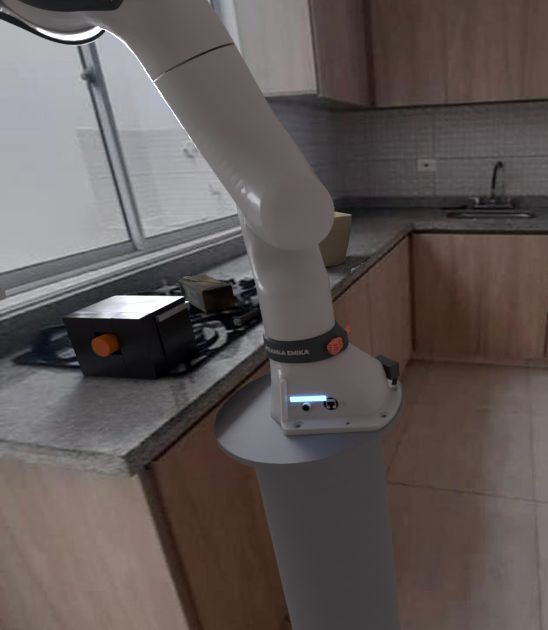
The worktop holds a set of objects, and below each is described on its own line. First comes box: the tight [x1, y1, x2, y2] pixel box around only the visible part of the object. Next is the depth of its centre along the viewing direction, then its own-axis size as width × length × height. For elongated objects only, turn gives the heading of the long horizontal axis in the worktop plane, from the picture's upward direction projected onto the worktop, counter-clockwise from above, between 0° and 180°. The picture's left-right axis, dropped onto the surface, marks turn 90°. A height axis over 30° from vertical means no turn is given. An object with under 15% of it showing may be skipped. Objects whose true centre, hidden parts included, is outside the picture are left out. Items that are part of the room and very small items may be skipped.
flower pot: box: [318, 211, 353, 268], centre depth 152 cm, size 19×19×17 cm
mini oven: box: [61, 295, 199, 380], centre depth 85 cm, size 17×12×12 cm
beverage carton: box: [177, 274, 236, 314], centre depth 119 cm, size 8×19×7 cm, turn 44°
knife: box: [232, 307, 262, 327], centre depth 111 cm, size 19×2×5 cm
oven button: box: [92, 333, 120, 357], centre depth 80 cm, size 4×3×4 cm
